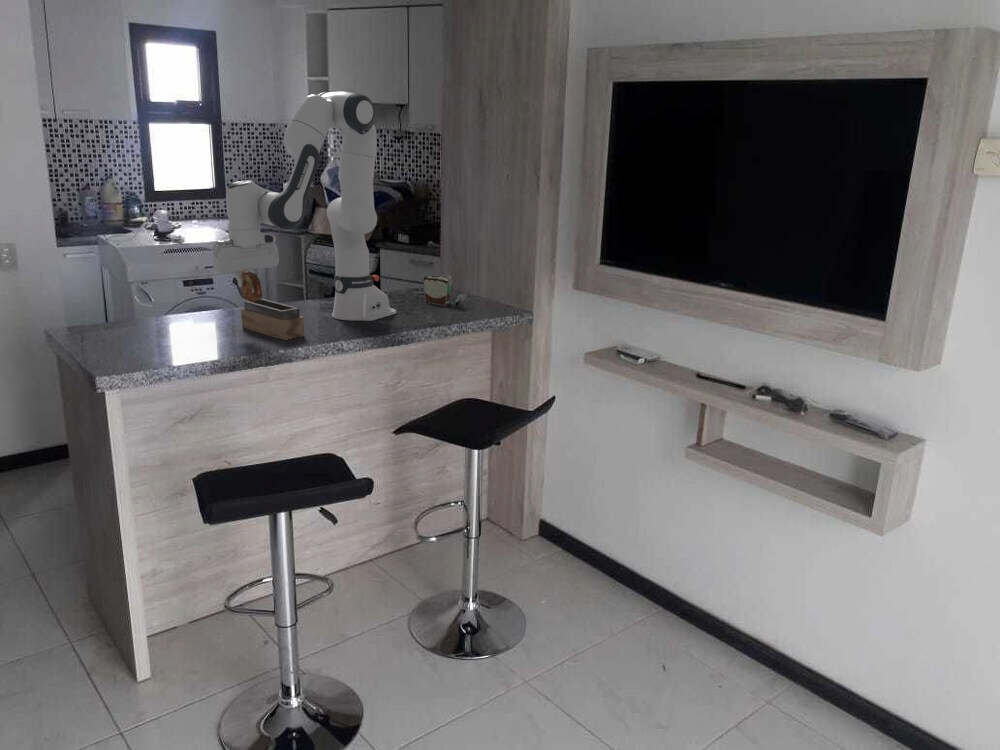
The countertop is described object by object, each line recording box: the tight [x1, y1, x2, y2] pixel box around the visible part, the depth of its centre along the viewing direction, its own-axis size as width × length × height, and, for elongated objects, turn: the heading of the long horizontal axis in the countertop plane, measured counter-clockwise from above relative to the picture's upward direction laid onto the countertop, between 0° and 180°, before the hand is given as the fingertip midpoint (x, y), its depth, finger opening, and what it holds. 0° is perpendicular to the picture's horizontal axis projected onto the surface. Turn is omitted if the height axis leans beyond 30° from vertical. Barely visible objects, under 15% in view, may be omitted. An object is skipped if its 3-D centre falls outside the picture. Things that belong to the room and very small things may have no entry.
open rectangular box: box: [240, 298, 305, 341], centre depth 247 cm, size 7×22×8 cm, turn 50°
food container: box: [421, 274, 453, 307], centre depth 296 cm, size 12×6×10 cm, turn 58°
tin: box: [235, 270, 263, 302], centre depth 238 cm, size 15×3×8 cm, turn 36°
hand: (248, 285), depth 238 cm, fingers closed on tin, 3 cm apart
